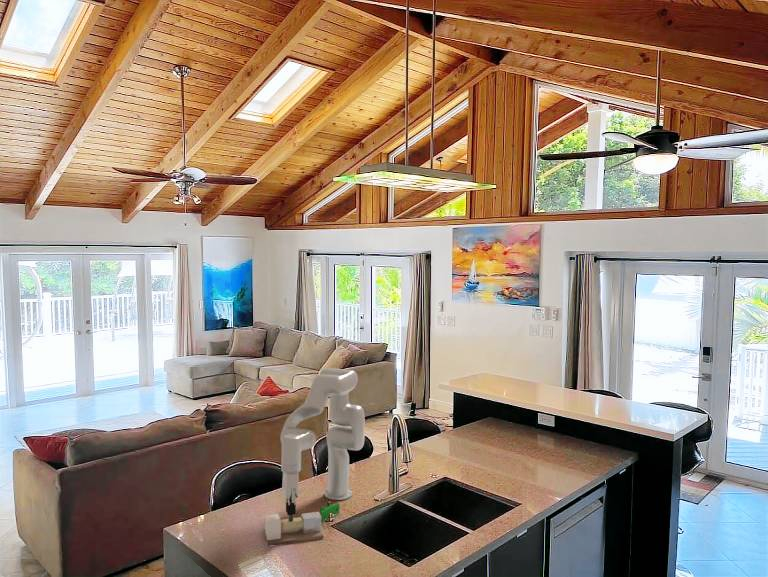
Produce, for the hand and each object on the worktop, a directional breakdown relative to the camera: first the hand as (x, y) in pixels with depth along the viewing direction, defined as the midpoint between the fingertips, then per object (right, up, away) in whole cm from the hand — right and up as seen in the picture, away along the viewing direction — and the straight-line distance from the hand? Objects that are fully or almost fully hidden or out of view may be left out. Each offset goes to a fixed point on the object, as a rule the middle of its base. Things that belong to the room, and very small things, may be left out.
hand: (290, 512), depth 225 cm
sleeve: (+8, -8, +3) cm, 11 cm away
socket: (-7, -8, -2) cm, 10 cm away
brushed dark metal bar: (+2, -6, +1) cm, 6 cm away
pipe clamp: (+13, -9, +18) cm, 24 cm away
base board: (+1, -9, +1) cm, 9 cm away
